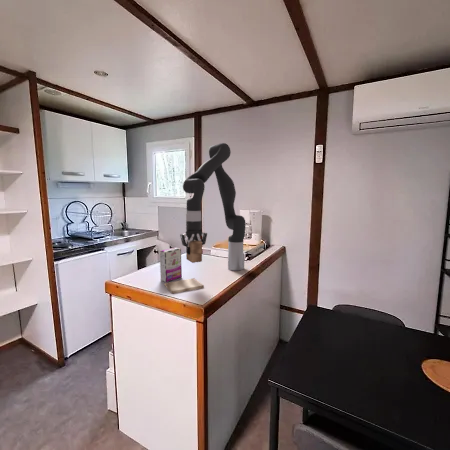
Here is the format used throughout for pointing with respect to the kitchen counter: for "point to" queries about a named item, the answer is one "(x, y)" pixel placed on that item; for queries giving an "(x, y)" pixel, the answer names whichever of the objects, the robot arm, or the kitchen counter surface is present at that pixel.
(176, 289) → the birch board
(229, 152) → the robot arm
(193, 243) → the walnut block
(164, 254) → the candy bar box
